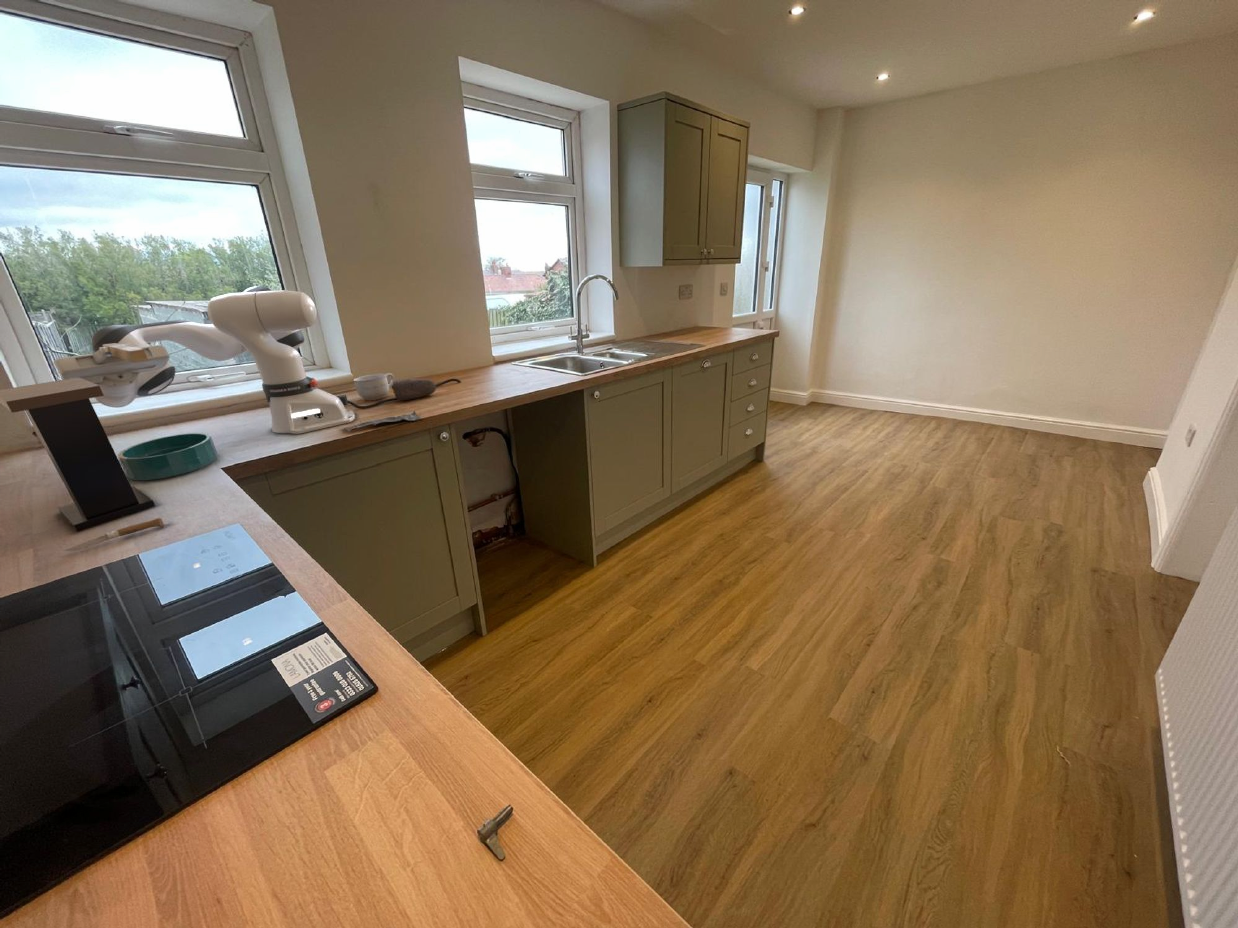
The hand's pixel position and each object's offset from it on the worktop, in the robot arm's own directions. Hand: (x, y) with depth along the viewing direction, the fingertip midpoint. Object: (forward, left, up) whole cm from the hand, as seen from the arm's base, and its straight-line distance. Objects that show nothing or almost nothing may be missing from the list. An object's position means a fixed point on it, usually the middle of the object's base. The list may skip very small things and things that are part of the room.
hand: (115, 348), depth 117 cm
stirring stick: (-3, +6, -2) cm, 6 cm away
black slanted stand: (+5, +26, -29) cm, 40 cm away
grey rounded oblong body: (-66, -24, -29) cm, 76 cm away
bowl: (-3, +5, -29) cm, 30 cm away
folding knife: (-1, +45, -29) cm, 54 cm away
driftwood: (-52, +1, -29) cm, 60 cm away
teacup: (-55, -34, -29) cm, 71 cm away
